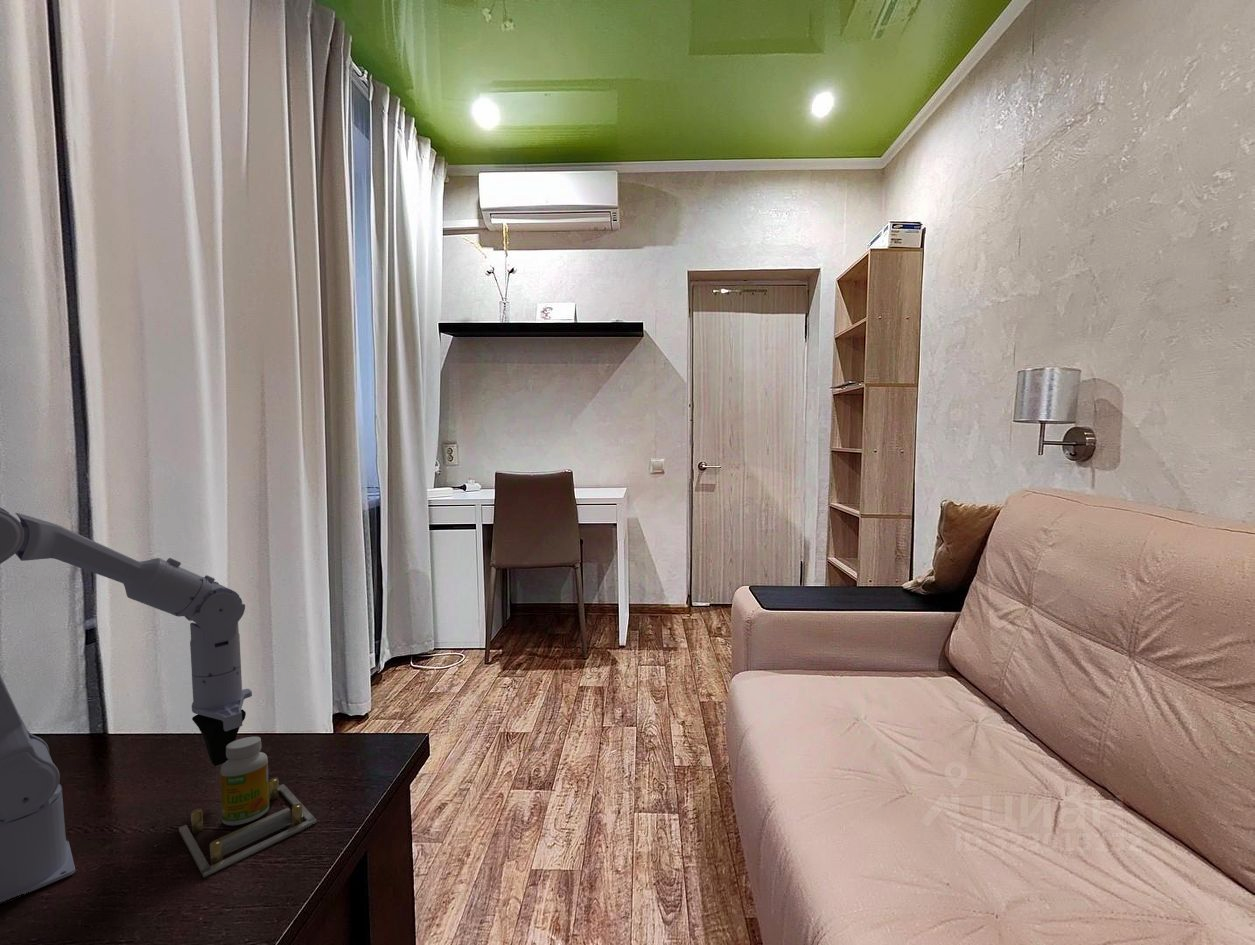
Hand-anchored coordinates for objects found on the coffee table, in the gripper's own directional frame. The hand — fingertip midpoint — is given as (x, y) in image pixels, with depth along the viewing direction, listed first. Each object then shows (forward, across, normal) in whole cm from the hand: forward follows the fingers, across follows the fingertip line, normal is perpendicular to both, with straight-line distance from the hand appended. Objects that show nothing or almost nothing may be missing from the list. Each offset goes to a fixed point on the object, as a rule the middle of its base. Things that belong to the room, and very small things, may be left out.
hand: (221, 761), depth 83 cm
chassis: (+5, -11, 0) cm, 12 cm away
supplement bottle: (+5, -8, -1) cm, 10 cm away
